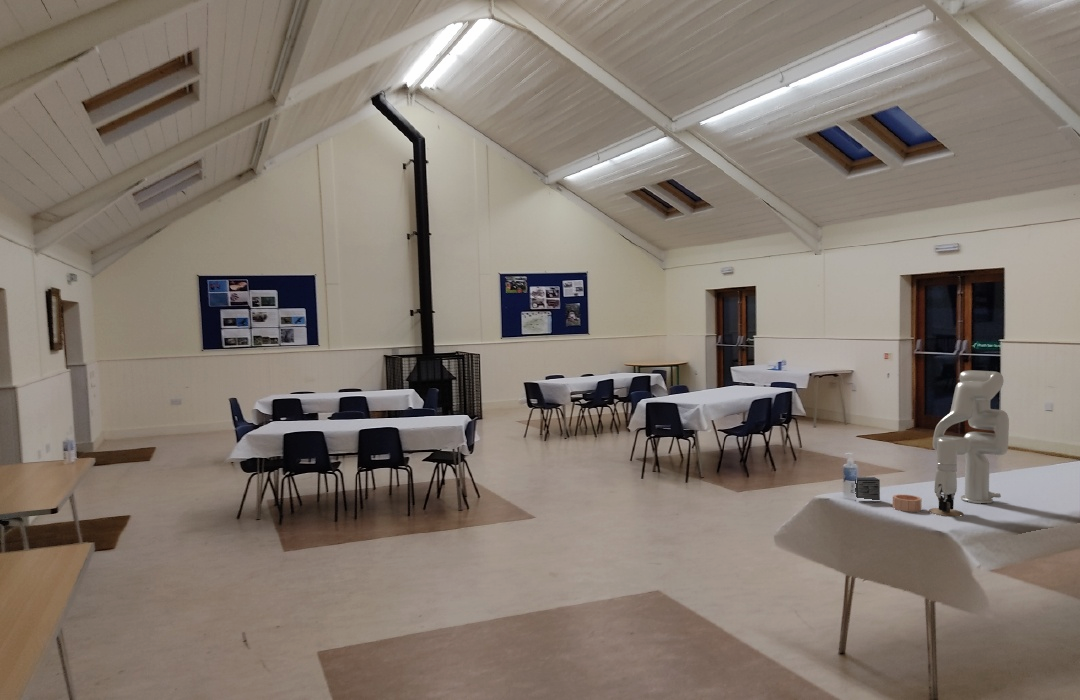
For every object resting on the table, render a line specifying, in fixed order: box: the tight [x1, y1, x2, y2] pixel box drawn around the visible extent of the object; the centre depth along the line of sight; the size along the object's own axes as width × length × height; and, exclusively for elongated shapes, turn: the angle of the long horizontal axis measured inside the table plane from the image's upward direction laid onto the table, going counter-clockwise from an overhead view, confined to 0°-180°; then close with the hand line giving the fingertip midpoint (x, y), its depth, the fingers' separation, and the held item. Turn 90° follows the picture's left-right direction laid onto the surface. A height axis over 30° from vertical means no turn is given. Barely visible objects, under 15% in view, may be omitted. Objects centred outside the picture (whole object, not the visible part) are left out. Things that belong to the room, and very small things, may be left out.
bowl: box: [892, 494, 923, 513], centre depth 323 cm, size 11×11×5 cm
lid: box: [928, 502, 964, 517], centre depth 316 cm, size 13×13×5 cm
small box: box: [855, 476, 881, 501], centre depth 339 cm, size 11×6×10 cm, turn 88°
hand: (946, 509), depth 316 cm, fingers open, 4 cm apart
